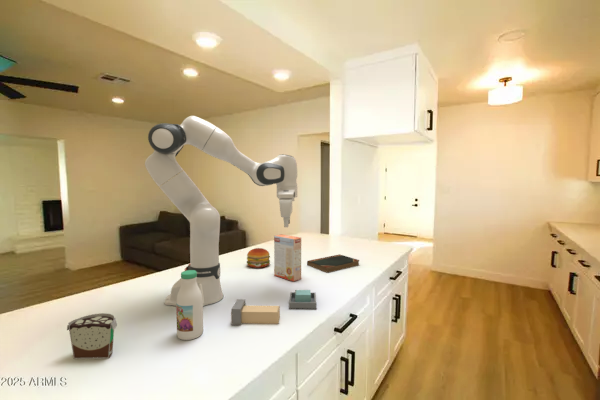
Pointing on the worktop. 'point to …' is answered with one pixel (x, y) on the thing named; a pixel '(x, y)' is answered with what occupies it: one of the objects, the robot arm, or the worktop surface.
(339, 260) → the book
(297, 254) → the cracker box
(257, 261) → the burger
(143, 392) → the worktop surface
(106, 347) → the food container
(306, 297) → the stub
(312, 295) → the tray
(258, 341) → the worktop surface
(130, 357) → the worktop surface
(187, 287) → the milk bottle
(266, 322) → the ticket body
